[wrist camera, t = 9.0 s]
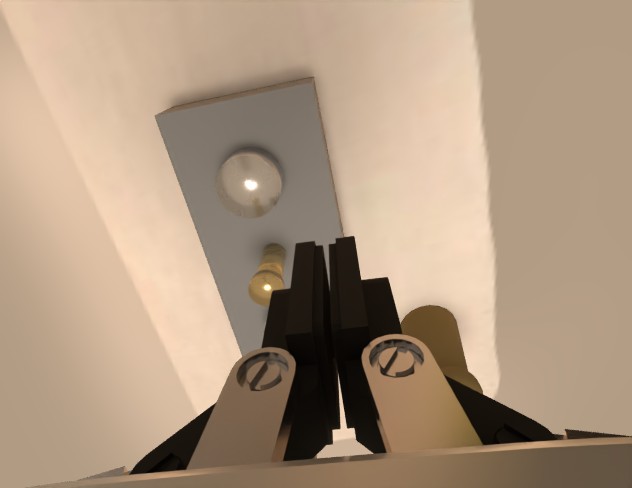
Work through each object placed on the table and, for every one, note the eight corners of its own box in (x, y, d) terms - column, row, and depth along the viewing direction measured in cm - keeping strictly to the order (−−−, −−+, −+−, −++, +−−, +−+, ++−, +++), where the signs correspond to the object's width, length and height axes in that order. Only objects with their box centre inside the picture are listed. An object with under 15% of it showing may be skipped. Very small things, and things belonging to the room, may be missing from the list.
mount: (172, 107, 35) (154, 115, 31) (313, 76, 33) (312, 82, 30) (254, 346, 46) (248, 373, 42) (361, 330, 45) (365, 356, 41)
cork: (399, 351, 46) (419, 438, 36) (400, 306, 43) (422, 387, 33) (454, 349, 46) (490, 435, 36) (459, 303, 43) (498, 384, 33)
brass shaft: (256, 242, 36) (244, 279, 30) (285, 237, 35) (278, 274, 30) (263, 268, 37) (253, 308, 31) (292, 263, 36) (286, 303, 31)
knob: (225, 142, 35) (206, 163, 30) (279, 131, 35) (271, 150, 29) (240, 194, 38) (226, 223, 32) (292, 185, 37) (286, 212, 31)
